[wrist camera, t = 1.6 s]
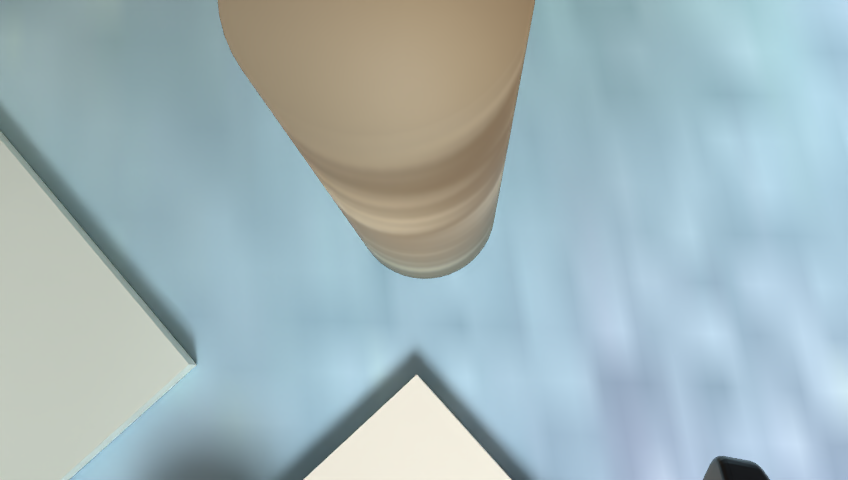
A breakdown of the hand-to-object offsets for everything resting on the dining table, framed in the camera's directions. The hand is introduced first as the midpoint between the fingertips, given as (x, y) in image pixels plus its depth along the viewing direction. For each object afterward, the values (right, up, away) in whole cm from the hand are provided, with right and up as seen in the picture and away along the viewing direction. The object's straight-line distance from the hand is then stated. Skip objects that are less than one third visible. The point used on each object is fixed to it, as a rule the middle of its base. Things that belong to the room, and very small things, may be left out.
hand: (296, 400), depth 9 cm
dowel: (+1, +3, +12) cm, 12 cm away
